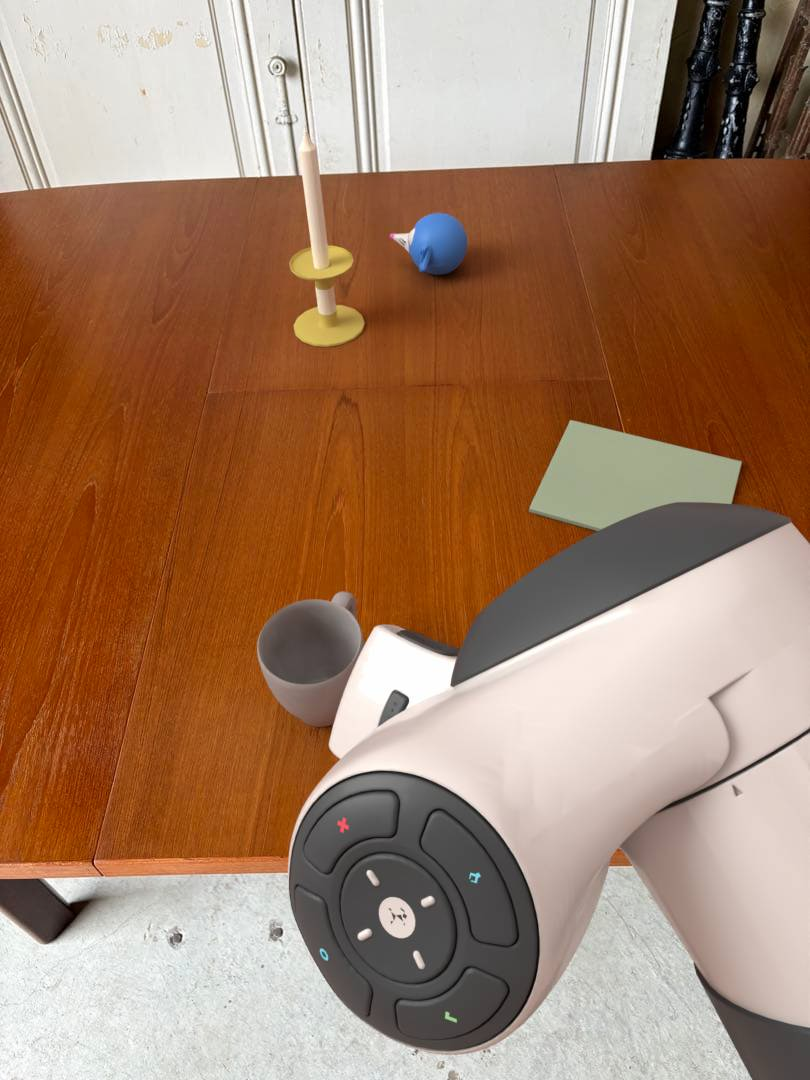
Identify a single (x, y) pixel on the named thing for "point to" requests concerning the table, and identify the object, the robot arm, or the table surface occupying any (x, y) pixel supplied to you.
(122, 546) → the table surface
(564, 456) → the mat
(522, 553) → the table surface
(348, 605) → the mug
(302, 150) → the candle
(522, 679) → the robot arm
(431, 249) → the blue mole toy
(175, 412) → the table surface
